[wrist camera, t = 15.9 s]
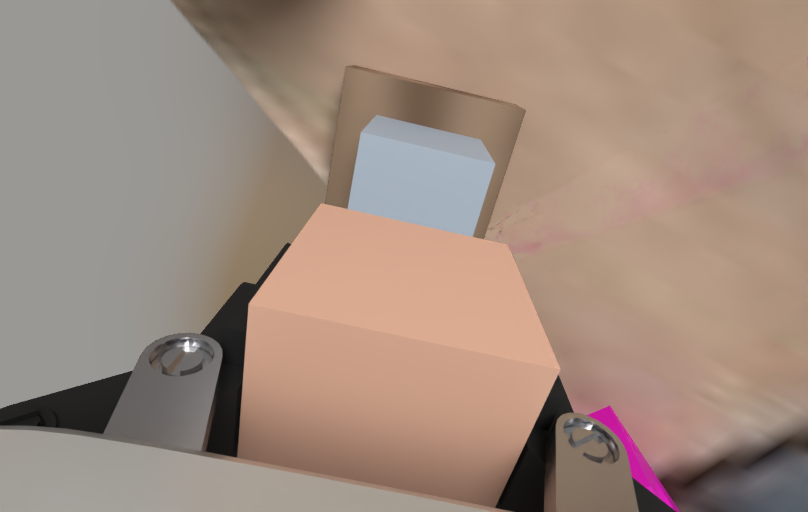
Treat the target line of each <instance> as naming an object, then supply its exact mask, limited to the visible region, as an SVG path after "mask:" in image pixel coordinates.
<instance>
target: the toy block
mask: <svg viewBox="0 0 808 512" xmlns="http://www.w3.org/2000/svg"><path fill="white" fill-rule="evenodd" d="M587 416H590V417H592V418H594V419H596V420H598V421H600V422H601V423H602V424H604V425H605V426H607V427H608V428H609V429H610V430H611V431H612V432H613V433H615V434H616V435H617V436H618V438H619V439H620V441H621V442H622V443H623V445H624V447H625V449H626V452H627V455H628V460H629V465H630V470H631V475H632V477H633V478H634V479H635V480H637V481H638V482H639V483H640V484H642V485H643V486H644V487H645V488H647V489H648V490H649V491H651V492H652V493H653V494H654V495H656V496H657V497H658V498H660V499H661V500H662V501H663V502H665V503H666V504H667V505H668V506H670V507H671V508H672V509H674V510H675V511H676V512H679V510H678V508H677V507H676V505H675V504H674V502H673V501H672V499H671V498H670V496H669V495H668V493H667V492H666V490H665V489H664V487H663V486H662V484H661V483H660V481H659V480H658V478H657V476H656V475H655V473H654V472H653V470H652V469H651V467H650V466H649V464H648V463H647V461H646V460H645V458H644V457H643V455H642V454H641V452H640V451H639V449H638V448H637V446H636V445H635V443H634V442H633V440H632V439H631V437H630V436H629V434H628V433H627V431H626V429H625V428H624V426H623V425H622V423H621V422H620V420H619V419H618V417H617V416H616V414H615V413H614V411H613V410H612V408H611V407H610V406H608V407H606V408H603V409H601V410H599V411H596V412H594V413H592V414H589V415H587Z"/></svg>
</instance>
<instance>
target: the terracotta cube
mask: <svg viewBox="0 0 808 512" xmlns="http://www.w3.org/2000/svg"><path fill="white" fill-rule="evenodd" d="M560 370H561V369H560V367H559V365H558V362H557V360H556V358H555V355H554V353H553V351H552V348H551V346H550V343H549V341H548V339H547V336H546V334H545V332H544V329H543V327H542V325H541V322H540V320H539V317H538V315H537V313H536V310H535V308H534V306H533V303H532V301H531V299H530V296H529V294H528V291H527V289H526V287H525V284H524V282H523V280H522V277H521V275H520V273H519V270H518V268H517V266H516V263H515V261H514V258H513V256H512V254H511V251H510V249H509V247H508V245H506V244H502V243H498V242H493V241H489V240H484V239H480V238H475V237H471V236H466V235H462V234H457V233H453V232H448V231H444V230H439V229H435V228H430V227H426V226H421V225H417V224H412V223H408V222H403V221H399V220H394V219H390V218H385V217H381V216H376V215H372V214H368V213H363V212H359V211H354V210H350V209H345V208H341V207H336V206H332V205H327V204H323V203H321V204H320V206H319V207H318V208H317V210H316V211H315V212H314V214H313V215H312V217H311V218H310V219H309V221H308V222H307V224H306V225H305V226H304V228H303V229H302V230H301V232H300V233H299V235H298V236H297V238H296V239H295V240H294V242H293V243H292V244H291V246H290V247H289V248H288V250H287V251H286V253H285V254H284V255H283V257H282V258H281V260H280V261H279V262H278V264H277V265H276V267H275V268H274V269H273V271H272V272H271V273H270V275H269V276H268V278H267V279H266V280H265V282H264V283H263V285H262V286H261V287H260V289H259V290H258V292H257V293H256V294H255V296H254V297H253V298H252V300H251V301H250V303H249V305H248V319H247V332H246V346H245V359H244V373H243V386H242V400H241V413H240V427H239V440H238V454H237V458H241V459H246V460H252V461H257V462H262V463H267V464H273V465H278V466H283V467H288V468H294V469H299V470H304V471H309V472H315V473H320V474H325V475H330V476H335V477H340V478H346V479H351V480H356V481H361V482H366V483H371V484H376V485H381V486H387V487H392V488H397V489H402V490H407V491H412V492H417V493H422V494H427V495H432V496H437V497H442V498H448V499H453V500H458V501H463V502H468V503H473V504H478V505H483V506H488V507H493V508H495V507H496V505H497V502H498V500H499V498H500V496H501V494H502V492H503V490H504V488H505V486H506V483H507V481H508V479H509V477H510V475H511V473H512V471H513V469H514V467H515V464H516V462H517V460H518V458H519V456H520V454H521V452H522V450H523V448H524V445H525V443H526V441H527V439H528V437H529V435H530V433H531V431H532V429H533V427H534V424H535V422H536V420H537V418H538V416H539V414H540V412H541V410H542V408H543V405H544V403H545V401H546V399H547V397H548V395H549V393H550V391H551V389H552V386H553V384H554V382H555V380H556V378H557V376H558V374H559V372H560Z"/></svg>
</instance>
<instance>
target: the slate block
mask: <svg viewBox="0 0 808 512" xmlns="http://www.w3.org/2000/svg"><path fill="white" fill-rule="evenodd" d="M494 167H495V162H494V161H493V159H492V157H491V156H490V154H489V152H488V151H487V149H486V147H485V146H484V144H483V142H482V141H481V140H480V139H476V138H472V137H467V136H463V135H459V134H455V133H451V132H447V131H442V130H438V129H434V128H430V127H426V126H421V125H417V124H413V123H409V122H405V121H400V120H396V119H392V118H388V117H384V116H380V115H376V116H375V117H374V118H373V119H372V120H371V122H370V123H369V124H368V125H367V126H366V127H365V128H364V129H363V130H362V131H361V134H360V140H359V146H358V152H357V157H356V163H355V169H354V175H353V180H352V186H351V192H350V197H349V203H348V209H350V210H354V211H359V212H363V213H368V214H372V215H376V216H381V217H385V218H390V219H394V220H399V221H403V222H408V223H412V224H417V225H421V226H426V227H430V228H435V229H439V230H444V231H448V232H453V233H457V234H462V235H466V236H471V237H473V234H474V231H475V228H476V224H477V221H478V218H479V215H480V212H481V208H482V205H483V202H484V199H485V196H486V193H487V189H488V186H489V183H490V180H491V177H492V174H493V170H494Z"/></svg>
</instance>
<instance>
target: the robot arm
mask: <svg viewBox="0 0 808 512" xmlns="http://www.w3.org/2000/svg"><path fill="white" fill-rule="evenodd" d="M290 246H291V244H289V243H287V244H286V245H285V246H284V247H283V249H282V250H281V251H280V253H279V254H278V255H277V257H276V258H275V259H274V261H273V262H272V263H271V265H270V266H269V268H268V269H267V270H266V271H265V273H264V274H263V275H262V277H261V278H260V279H259V281H258V282H257V283H256V284H251V283H247V282H244V283H242V284H241V285H240V286H239V287H238V288H237V290H236V291H235V292H234V293H233V295H232V296H231V297H230V298H229V299H228V301H227V302H226V303H225V305H223V307H222V308H221V309H220V310H219V312H218V313H217V314H216V315H215V317H214V318H213V319H212V320H211V322H210V323H209V324H208V325H207V326H206V328H205V329H204V330H203V332H202V333H201V334H195V333H178V334H173V335H169V336H165V337H163V338H160V339H158V340H156V341H154V342H153V343H151V344H150V345H149V346H147V347H146V348H145V350H144V351H143V352H142V354H141V355H140V357H139V359H138V362H137V364H136V366H135V368H134V370H133V371H130V372H127V373H123V374H119V375H116V376H112V377H109V378H106V379H102V380H98V381H95V382H91V383H88V384H84V385H81V386H77V387H74V388H70V389H67V390H63V391H59V392H56V393H52V394H49V395H46V396H41V397H38V398H34V399H31V400H28V401H24V402H20V403H17V404H13V405H10V406H7V407H4V408H1V409H0V512H676V511H675V510H674V509H672V508H671V507H670V506H668V505H667V504H666V503H665V502H663V501H662V500H661V499H660V498H658V497H657V496H656V495H654V494H653V493H652V492H651V491H649V490H648V489H647V488H645V487H644V486H643V485H642V484H640V483H639V482H638V481H637V480H635V479H634V478H633V477H632V475H631V470H630V465H629V460H628V455H627V452H626V449H625V447H624V445H623V443H622V442H621V441H620V439H619V438H618V436H617V435H616V434H615V433H613V432H612V431H611V430H610V429H609V428H608V427H607V426H605V425H604V424H602V423H601V422H600V421H598V420H596V419H594V418H592V417H590V416H587V415H583V414H580V413H574V412H573V410H572V407H571V405H570V402H569V400H568V397H567V395H566V392H565V390H564V387H563V385H562V383H561V380H560V378H559V375H558V376H557V378H556V380H555V382H554V384H553V386H552V389H551V391H550V393H549V395H548V397H547V399H546V401H545V403H544V405H543V408H542V410H541V412H540V414H539V416H538V418H537V420H536V422H535V424H534V427H533V429H532V431H531V433H530V435H529V437H528V439H527V441H526V443H525V445H524V448H523V450H522V452H521V454H520V456H519V458H518V460H517V462H516V464H515V467H514V469H513V471H512V473H511V475H510V477H509V479H508V481H507V483H506V486H505V488H504V490H503V492H502V494H501V496H500V498H499V500H498V502H497V505H496V507H495V508H493V507H488V506H483V505H478V504H473V503H468V502H463V501H458V500H453V499H448V498H442V497H437V496H432V495H427V494H422V493H417V492H412V491H407V490H402V489H397V488H392V487H387V486H381V485H376V484H371V483H366V482H361V481H356V480H351V479H346V478H340V477H335V476H330V475H325V474H320V473H315V472H309V471H304V470H299V469H294V468H288V467H283V466H278V465H273V464H267V463H262V462H257V461H252V460H246V459H241V458H237V454H238V440H239V427H240V413H241V400H242V386H243V373H244V359H245V346H246V332H247V319H248V305H249V303H250V301H251V300H252V298H253V297H254V296H255V294H256V293H257V292H258V290H259V289H260V287H261V286H262V285H263V283H264V282H265V280H266V279H267V278H268V276H269V275H270V273H271V272H272V271H273V269H274V268H275V267H276V265H277V264H278V262H279V261H280V260H281V258H282V257H283V255H284V254H285V253H286V251H287V250H288V248H289V247H290Z"/></svg>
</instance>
